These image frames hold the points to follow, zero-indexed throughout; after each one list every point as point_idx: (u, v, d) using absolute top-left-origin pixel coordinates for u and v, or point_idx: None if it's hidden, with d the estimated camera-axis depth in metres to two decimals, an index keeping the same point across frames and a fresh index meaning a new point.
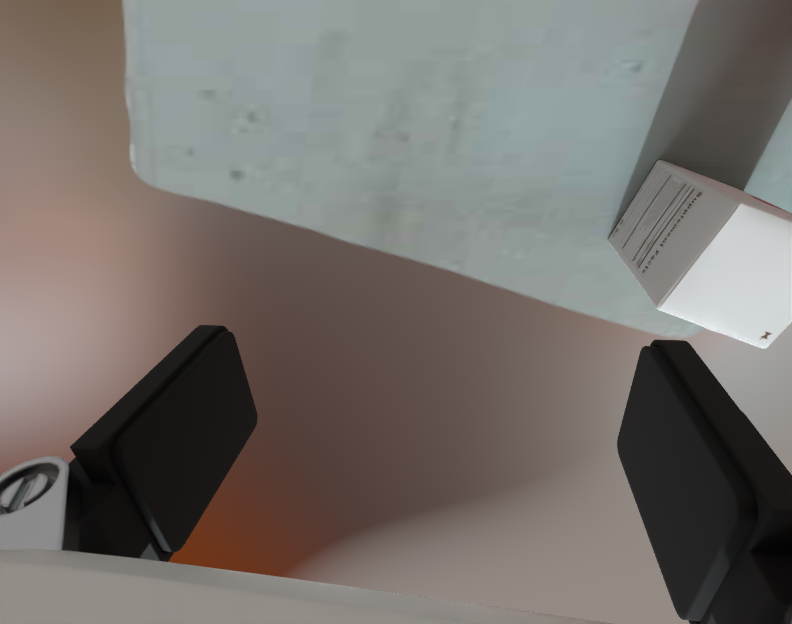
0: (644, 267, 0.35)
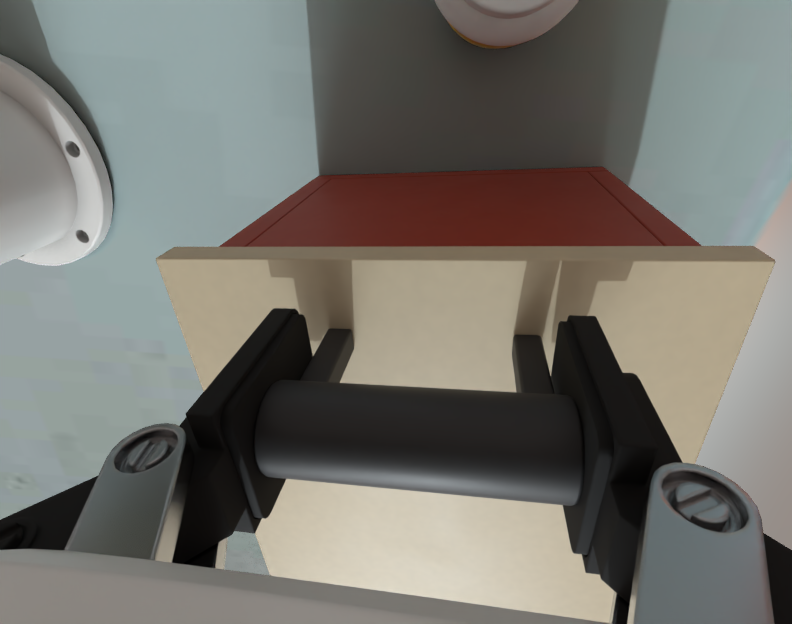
0: None
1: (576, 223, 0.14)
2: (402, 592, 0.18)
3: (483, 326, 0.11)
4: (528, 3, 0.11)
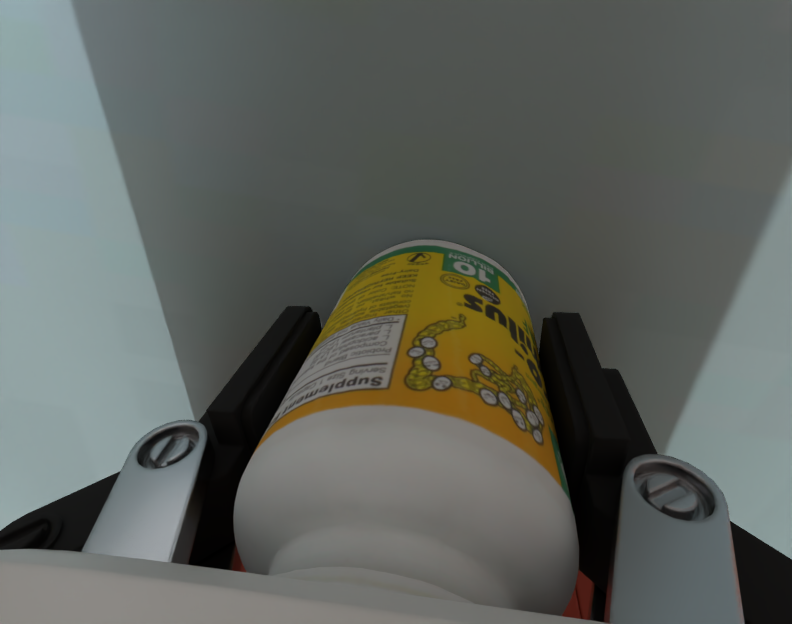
0: None
1: None
2: None
3: None
4: None
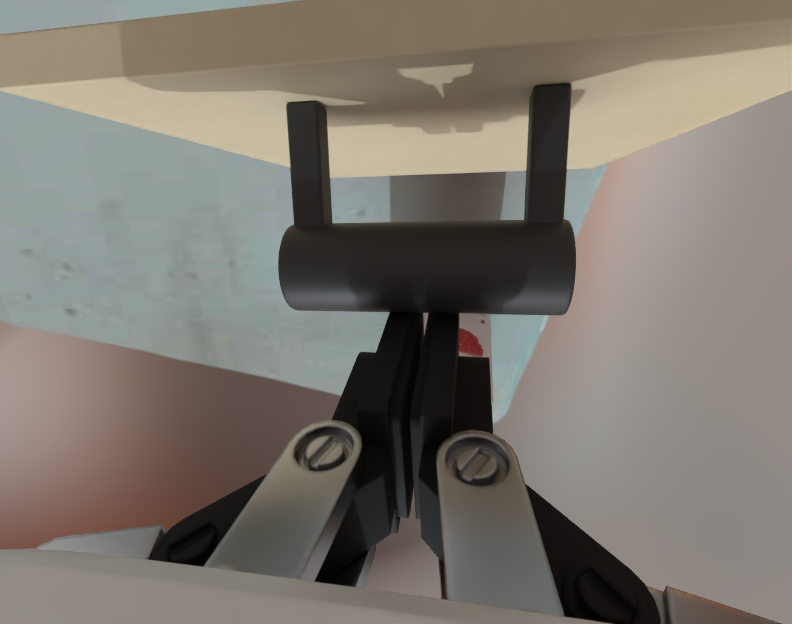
0: None
1: None
2: (422, 167, 0.21)
3: (492, 85, 0.08)
4: None
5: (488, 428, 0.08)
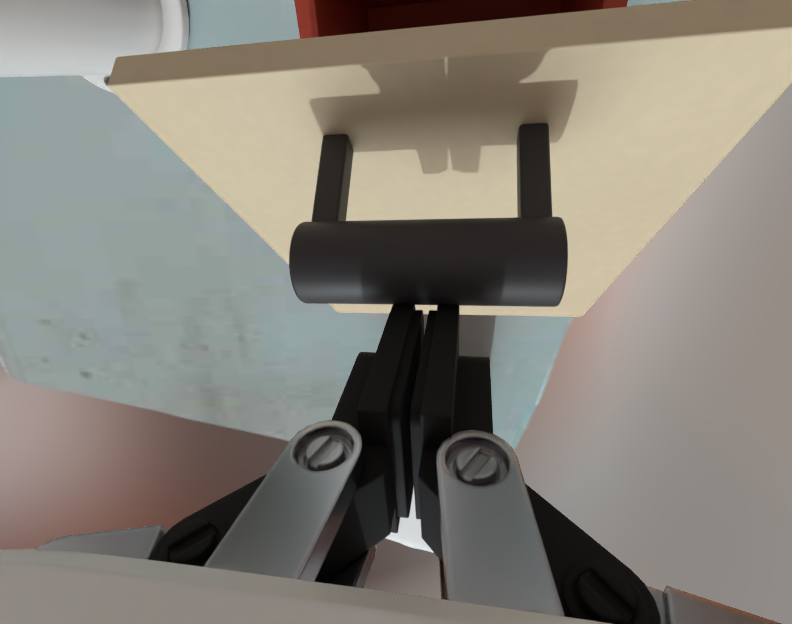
0: None
1: None
2: None
3: (487, 119, 0.10)
4: None
5: (488, 428, 0.08)
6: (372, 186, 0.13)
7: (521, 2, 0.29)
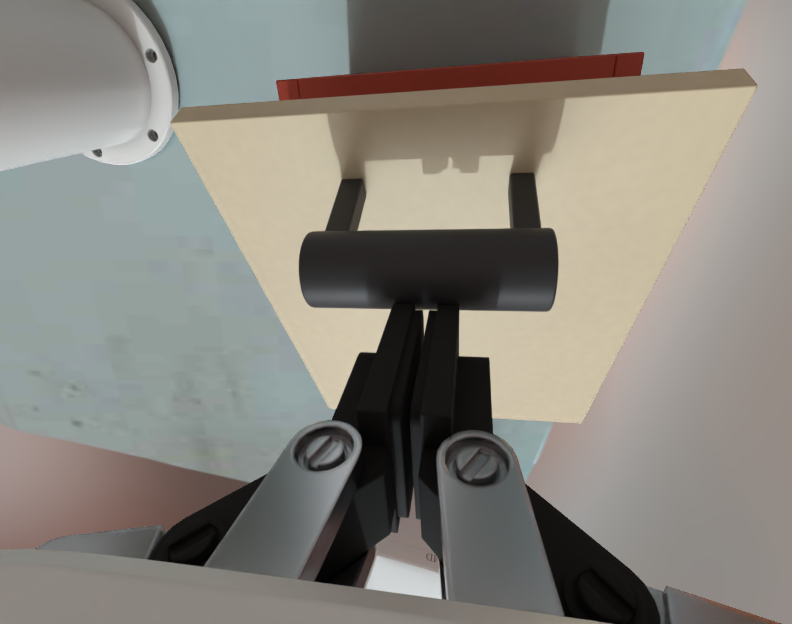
0: None
1: None
2: None
3: (482, 167, 0.12)
4: None
5: (488, 428, 0.08)
6: None
7: None
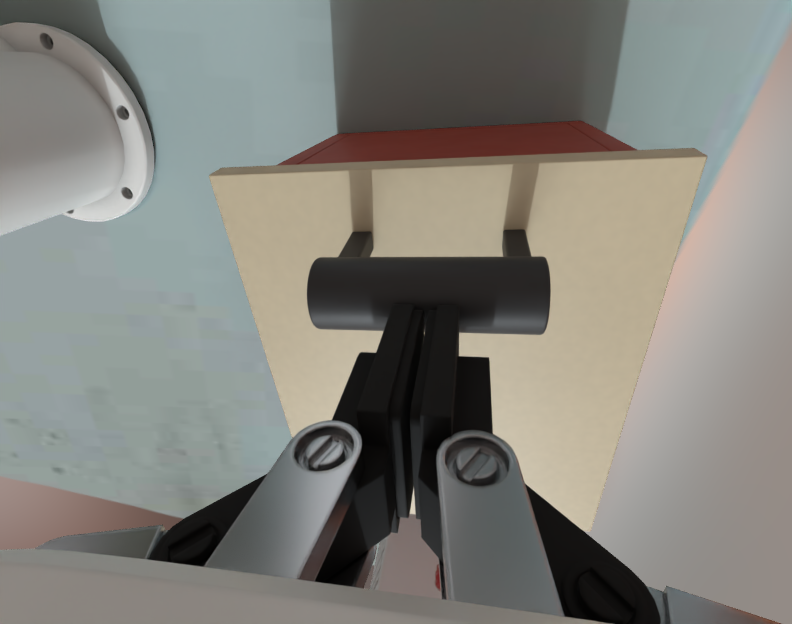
0: None
1: (552, 148, 0.18)
2: None
3: (479, 223, 0.14)
4: None
5: (488, 428, 0.08)
6: None
7: None
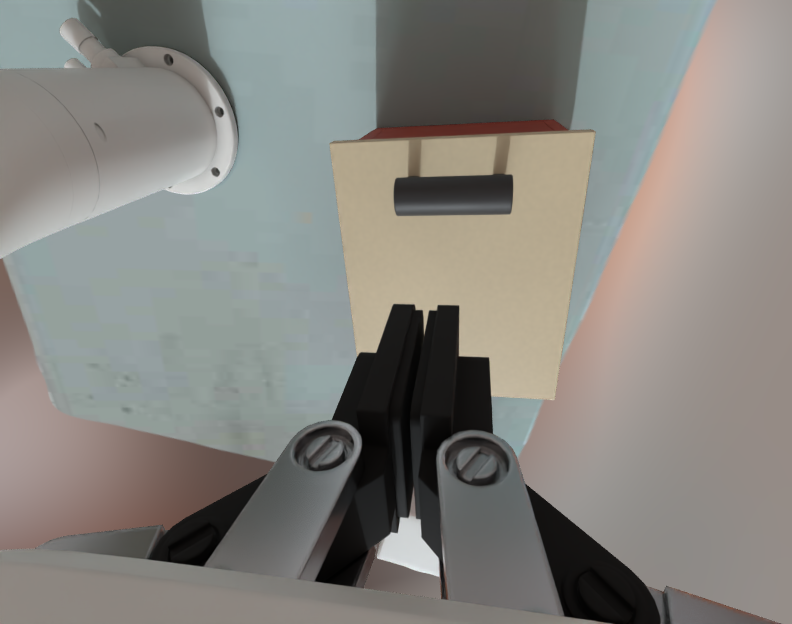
0: None
1: None
2: None
3: (479, 170, 0.25)
4: None
5: (488, 428, 0.08)
6: (422, 216, 0.27)
7: None
